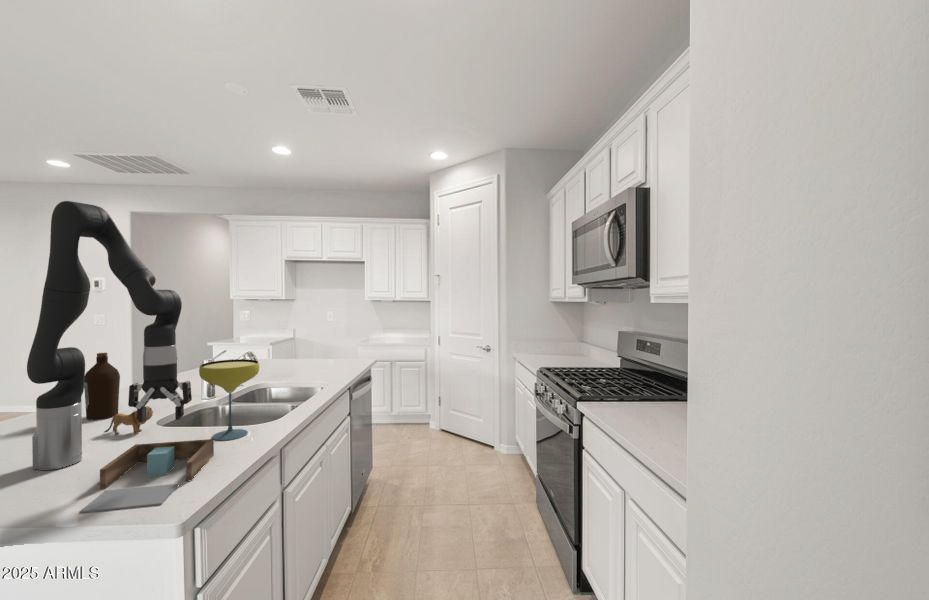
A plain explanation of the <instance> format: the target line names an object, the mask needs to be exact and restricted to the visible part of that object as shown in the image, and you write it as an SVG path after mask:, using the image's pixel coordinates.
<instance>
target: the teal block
mask: <svg viewBox="0 0 929 600" xmlns="http://www.w3.org/2000/svg"><path fill="white" fill-rule="evenodd" d="M146 463H147V465H146V466H147V467H146V469H147V472H146V476H147V477H155V476H154V475H159V476H167V475H168V474H169V473H170V472H171V471H172V470H173V469H174V468H175V460H174V446H173V447H159V448H155V449H154V450H153V451H151V452H150V453H149V454H147V462H146ZM173 467H174V468H173ZM172 468H173V469H172ZM171 469H172V470H171ZM170 470H171V471H170ZM168 472H169V473H168ZM167 473H168V474H167ZM166 474H167V475H166Z"/></svg>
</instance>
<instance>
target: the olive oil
mask: <svg viewBox="0 0 929 600" xmlns="http://www.w3.org/2000/svg"><path fill="white" fill-rule="evenodd" d="M108 357H109V356H108V352H97V353H96V359H95V360H96V362H95V364H94V365H93V366H92V367H91V368H89V370H87V371H86V372H85V378H84V401H85V417H86V420H88V421H100V420H106V419H111V418H113V417H114V416H115V415H116V414H119V400H120V384H121V383H120V382H121V381H120V380H121V373H120V372H119V370H118V369H117V368H116V367H115V366H113V365H112V364H111V363H110V362H109V361H108V359H109V358H108Z"/></svg>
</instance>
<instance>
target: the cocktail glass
mask: <svg viewBox="0 0 929 600" xmlns="http://www.w3.org/2000/svg"><path fill="white" fill-rule="evenodd" d="M259 371H260V363H259V361H258V360H256V359H255V360H254V359H246V358H245V359H244V358H243V359H242V358H241V359H238V358H237V359H224V360H223V359H222V360H216V361H210V362H206V363H202V364H201V365H199V369H198V372H199V373H198V374H199V377H200V378H201V379H202V380H203V381H205V382H207V383H209V384H212V385H214V386H217V387H220V388H222V389H224V391H225V392H226V393H228V396H229V397H228V403H229V404H228V410H229V411H228V427H227V430H223V431H222V430H221V431H218V432H216V433H214V434H212V436H211V439H214V441H217V442H218V441H220V442H222V441H223V442H224V441H232V440H237V439H240V438H243V437H245V436H247V435H248V430H246V429H244V428H235V429H233V423H232V393H234V392H235V391H236V389H237V388H238V387H240V386H241V385H242V384H245V383H247V382H248V381H250V380H251V379H253V378H255V377H256V376H257V375H258V373H259Z"/></svg>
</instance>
